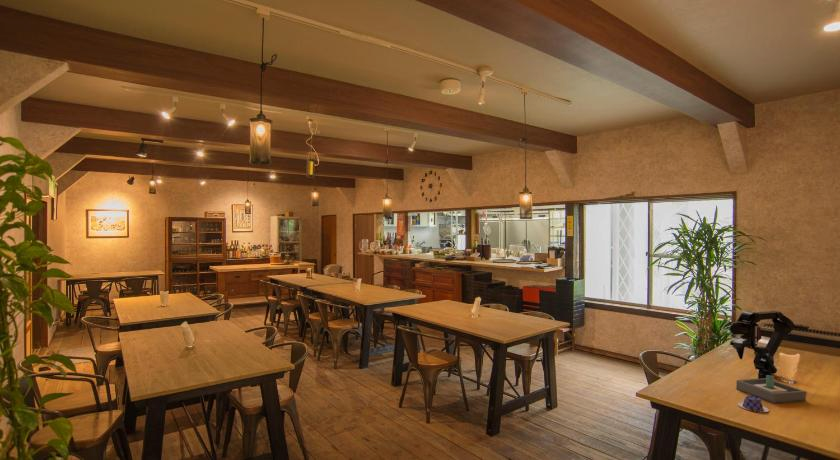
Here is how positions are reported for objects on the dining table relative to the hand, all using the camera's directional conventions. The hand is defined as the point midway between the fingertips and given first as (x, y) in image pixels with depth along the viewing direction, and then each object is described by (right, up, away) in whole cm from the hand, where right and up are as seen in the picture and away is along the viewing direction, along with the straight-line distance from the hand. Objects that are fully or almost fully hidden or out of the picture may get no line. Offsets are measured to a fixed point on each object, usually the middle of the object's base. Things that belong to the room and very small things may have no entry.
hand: (748, 361), depth 244 cm
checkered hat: (-24, -12, -35) cm, 44 cm away
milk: (+24, -13, +17) cm, 32 cm away
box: (-2, -12, -18) cm, 22 cm away
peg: (-3, -11, -18) cm, 21 cm away
